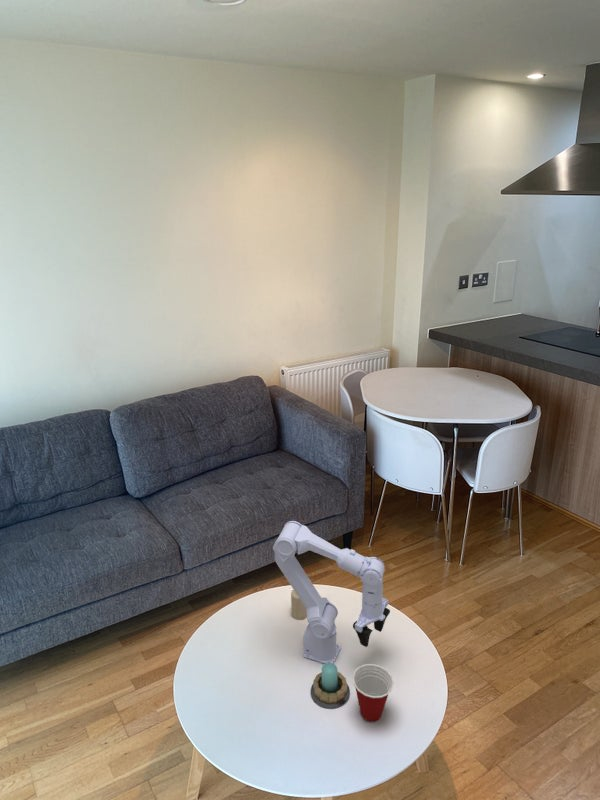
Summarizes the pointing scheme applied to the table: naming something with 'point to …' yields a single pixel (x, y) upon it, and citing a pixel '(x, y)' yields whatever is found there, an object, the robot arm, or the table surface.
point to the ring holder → (330, 698)
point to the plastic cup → (372, 690)
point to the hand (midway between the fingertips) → (371, 637)
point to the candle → (297, 607)
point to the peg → (329, 678)
